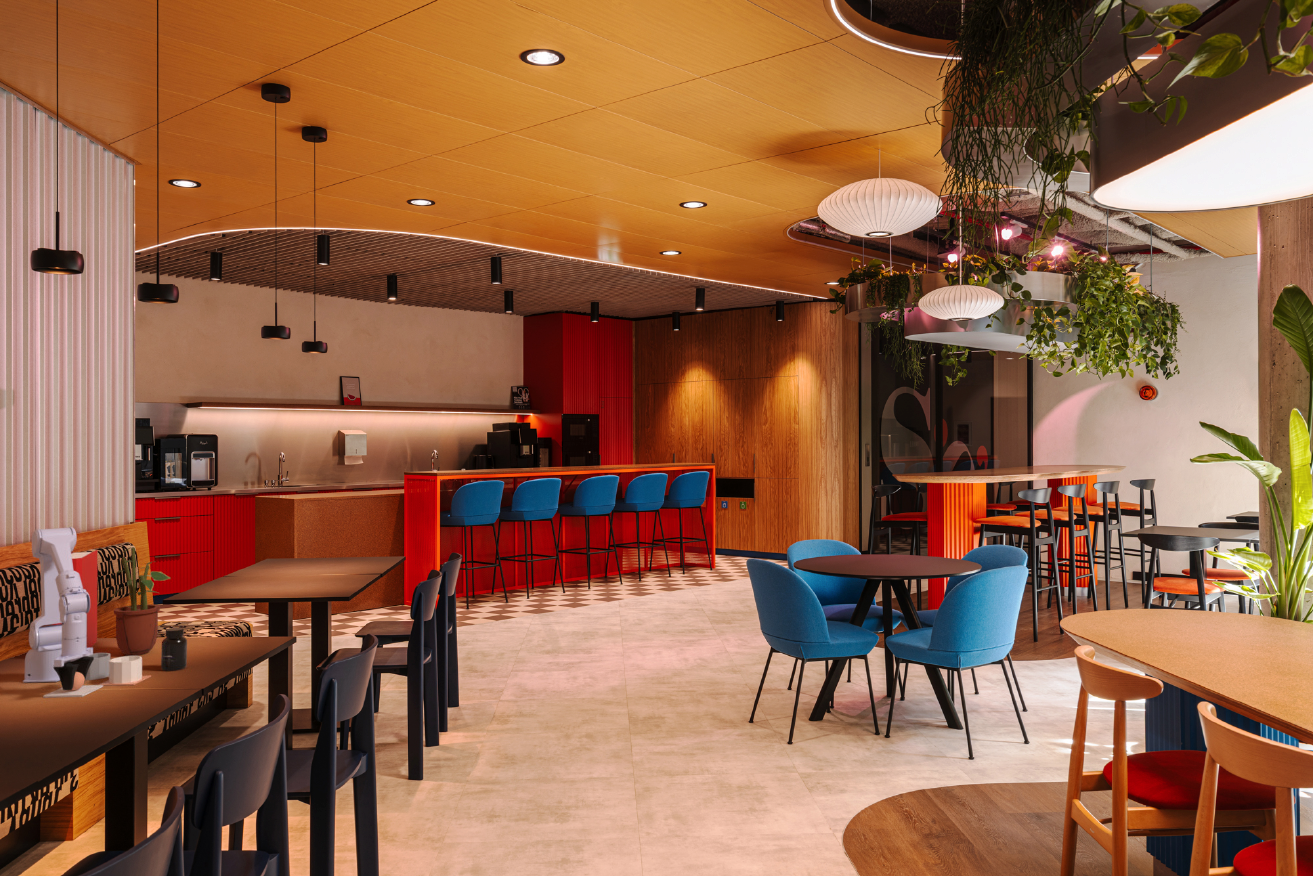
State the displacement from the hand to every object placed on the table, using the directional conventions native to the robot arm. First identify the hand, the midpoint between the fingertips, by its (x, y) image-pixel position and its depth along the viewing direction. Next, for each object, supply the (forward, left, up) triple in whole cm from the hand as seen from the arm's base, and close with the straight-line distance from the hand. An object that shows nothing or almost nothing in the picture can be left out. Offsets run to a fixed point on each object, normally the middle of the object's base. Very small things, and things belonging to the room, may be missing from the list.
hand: (73, 687), depth 241 cm
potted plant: (-8, +49, -2) cm, 50 cm away
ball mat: (0, 0, -1) cm, 1 cm away
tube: (+8, +11, -1) cm, 14 cm away
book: (-30, +53, -2) cm, 61 cm away
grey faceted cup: (-4, +17, -1) cm, 18 cm away
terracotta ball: (0, 0, +2) cm, 2 cm away
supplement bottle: (+15, +25, -2) cm, 29 cm away
